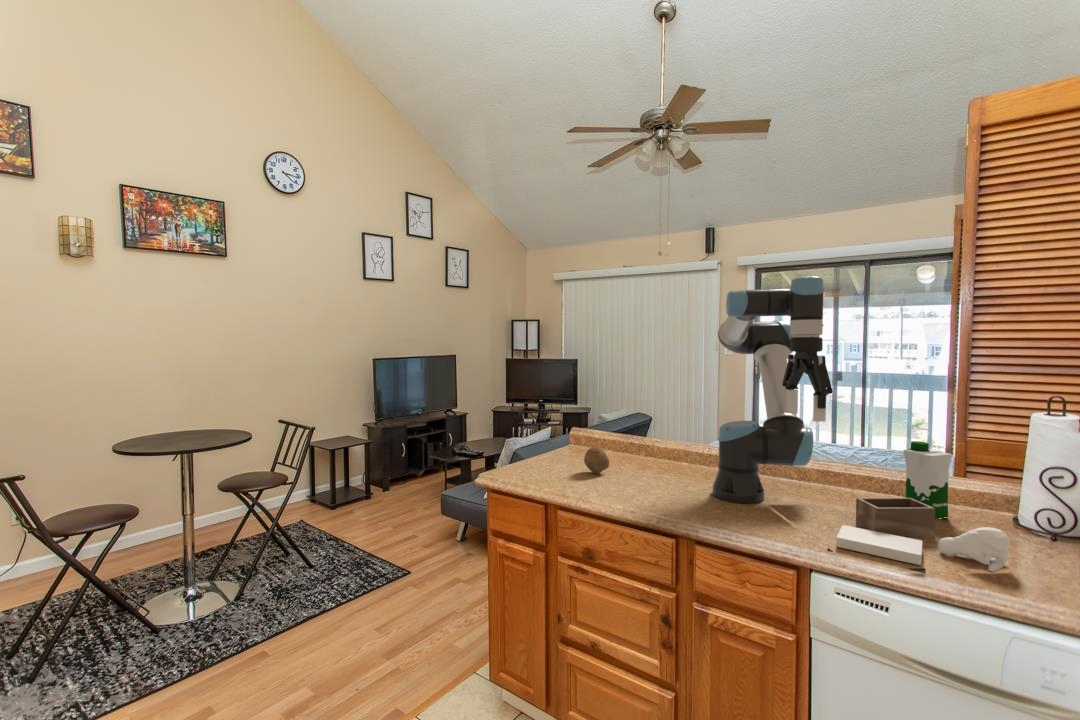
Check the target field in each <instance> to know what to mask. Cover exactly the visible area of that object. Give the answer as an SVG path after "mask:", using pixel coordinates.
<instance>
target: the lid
mask: <svg viewBox="0 0 1080 720" xmlns="http://www.w3.org/2000/svg"><path fill="white" fill-rule="evenodd" d="M839 529H840V530H839V531H838V534H837V535H836V540H835V541H836V546H835V547H838V548H840V549H845V550H850V551H855V552H859V553H863V554H869V555H872V556H873V555H874V556H877V557H880V558H881V557H882V558H886V559H890V560H894V561H900V562H904V563H909V564H912V565H918V566H922V557H923V540H921V539H917V538H906V537H901V536H896V535H891V534H886V533H881V532H876V531H871V530H866V529H861V528H859V527H857V526H856V527H855V526H850V525H846V524H845V525H844V524H842V526H841V528H839Z"/></svg>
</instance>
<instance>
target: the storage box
mask: <svg viewBox="0 0 1080 720" xmlns="http://www.w3.org/2000/svg"><path fill="white" fill-rule="evenodd" d="M855 500H856V501H855V503H856V505H855V508H856V509H855V510H856V511H855V526H856V528H861V529H866V530H871V531H876V532H881V533H886V534H891V535H896V536H901V537H906V538H911V539H919V538H920V539H923V538H924V539H925V538H926V539H927V538H928V539H932V538H934V539H935V536H936V535H935V529H936V528H935V527H936V525H935V524H936V518H935V508H933V507H931V506H929V505H926V504H924V503H922V502H919V501H917V500H915V499H912V498H905V497H856V499H855Z"/></svg>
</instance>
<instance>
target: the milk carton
mask: <svg viewBox="0 0 1080 720" xmlns="http://www.w3.org/2000/svg"><path fill="white" fill-rule="evenodd" d="M929 446H930V444H929V443H928V442H926V441H919V440H918V441H916V440H914V441H913V440H912V441H910V447H909V448H906V449H903V455H904V460H905V495H904V498H912V499H915V500H917V501H919V502H922V503H924V504H926V505H929V506H931V507H933V508H935V519H938V518H944V517H948V518H949V474H950V473H949V470H950V465H951V460H952V456H953V453H947V452H945V451H941V450H937V449H930V447H929Z"/></svg>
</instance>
